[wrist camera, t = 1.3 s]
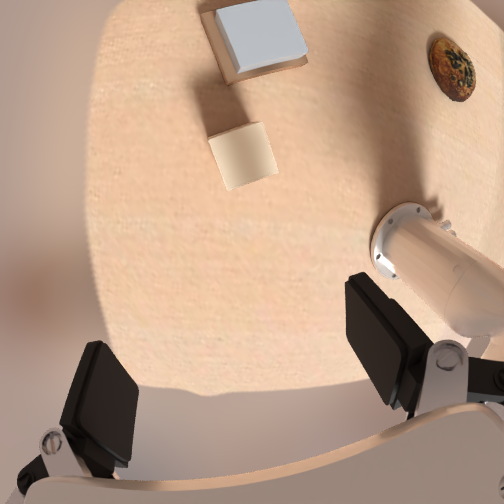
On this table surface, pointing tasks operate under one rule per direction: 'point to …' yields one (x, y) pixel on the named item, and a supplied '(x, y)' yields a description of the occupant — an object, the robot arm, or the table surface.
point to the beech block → (243, 154)
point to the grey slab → (260, 33)
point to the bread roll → (452, 70)
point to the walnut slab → (225, 59)
